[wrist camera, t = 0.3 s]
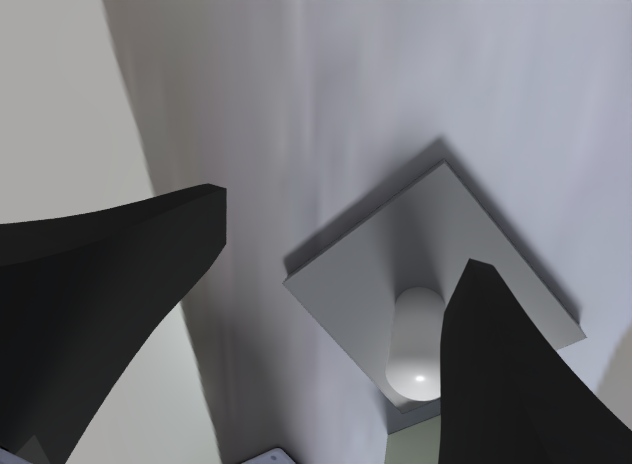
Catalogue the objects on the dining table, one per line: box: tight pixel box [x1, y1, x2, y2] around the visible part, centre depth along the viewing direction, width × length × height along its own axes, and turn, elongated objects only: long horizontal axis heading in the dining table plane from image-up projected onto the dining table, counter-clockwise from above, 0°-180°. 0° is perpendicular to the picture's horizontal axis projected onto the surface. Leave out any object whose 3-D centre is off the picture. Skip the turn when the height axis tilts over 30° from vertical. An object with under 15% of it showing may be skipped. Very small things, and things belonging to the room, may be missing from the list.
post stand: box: [282, 159, 587, 414], centre depth 20 cm, size 12×12×6 cm
